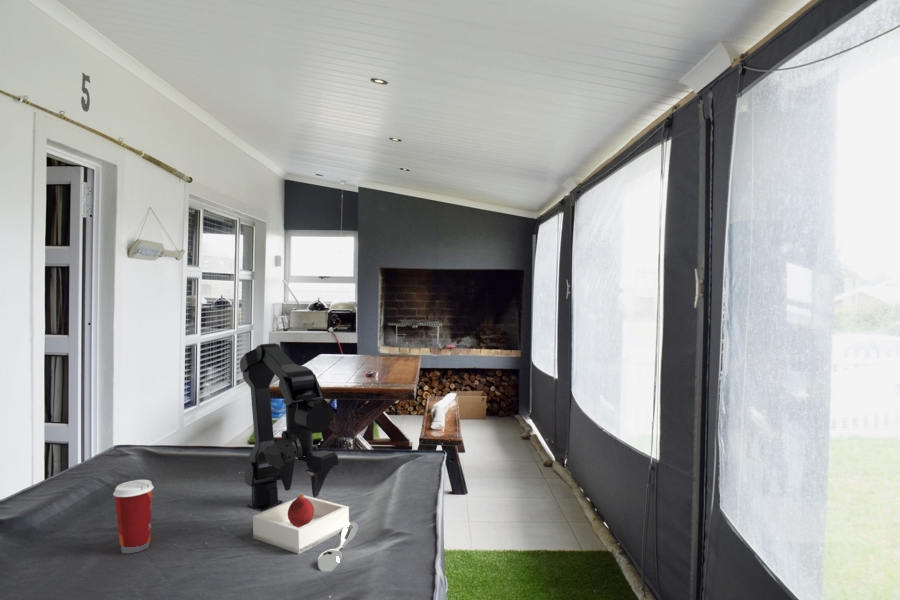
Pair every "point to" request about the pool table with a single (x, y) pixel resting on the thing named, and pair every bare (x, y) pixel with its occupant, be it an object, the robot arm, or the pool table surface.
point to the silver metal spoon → (336, 550)
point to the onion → (300, 511)
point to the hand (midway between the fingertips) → (301, 493)
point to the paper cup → (134, 512)
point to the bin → (284, 535)
